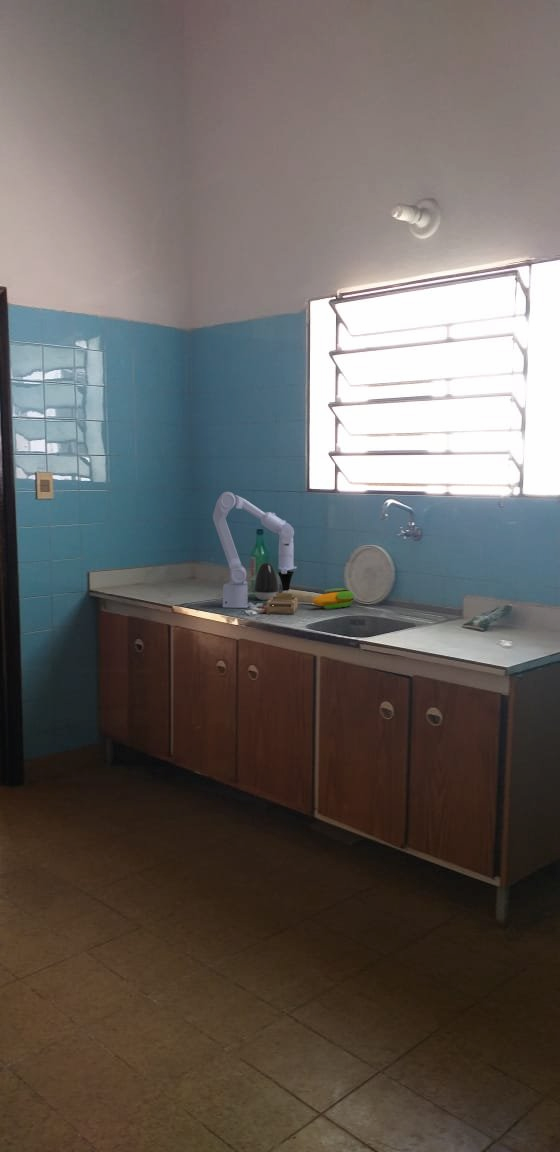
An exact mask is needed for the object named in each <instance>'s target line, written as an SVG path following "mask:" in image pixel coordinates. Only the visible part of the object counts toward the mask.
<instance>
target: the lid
mask: <svg viewBox="0 0 560 1152" xmlns="http://www.w3.org/2000/svg"><path fill="white" fill-rule="evenodd" d="M292 597H293V593H291V592H290V593H288V592H278V593H276V598H275V599H274V600H273V601H272V602H271V603H270V605H274V606H291V602H292V601H293V600H294V599H292Z"/></svg>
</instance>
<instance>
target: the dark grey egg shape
mask: <svg viewBox="0 0 560 1152" xmlns="http://www.w3.org/2000/svg"><path fill="white" fill-rule="evenodd" d="M279 590H280V587H279V580H278V576H277V573H276V570H275V568H274V566H273V564H272V563H270V562H267V561H266V562H263V563H261V564H260V566H259V567H258V569H257V572H256V574H255V580H254V584H253V592H254V595H255V597H256V598H257V599H258V600H260V601H268V600H269V599H270V598H271V597H276V593H279Z"/></svg>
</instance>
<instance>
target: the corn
mask: <svg viewBox="0 0 560 1152" xmlns="http://www.w3.org/2000/svg"><path fill="white" fill-rule="evenodd" d="M324 592H325V593H322V594H320V595H318V596H315V597H314V598H313V599H312V603H313V605H315V606H320V607H323V609H326V610H336V608H338V609H343V608H342V607H345V608H348V607H349V606H351V604H352V603H353V601H354V598H355V597H354V593H353V592H352V591H351V590H348V589H346V588H341V587H339V588H338V587H337V588H331V589H326V590H324ZM347 606H348V607H347Z"/></svg>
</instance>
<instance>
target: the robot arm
mask: <svg viewBox="0 0 560 1152" xmlns="http://www.w3.org/2000/svg"><path fill="white" fill-rule="evenodd" d="M234 506H235V509H239V510H243V511H246V512H248V513H250V514H251V515H252V516H254V517H256V518H257V519H259V520H260V523H261V526H264V527H265V529H266V528H267V529H268V530H269V531H271V532H273V533H275V534H278V536H279V539H278V540H279V542H278V566H277V569H278V570H280V571H278V572H277V573H278V576H279V578H280V582H281V586H282V590H283V592H285V591H286V592H288V591H290V589H291V582H292V577H293V576H294V571H292V570H295V569H297V566H295V563H294V556H295V553H294V550H295V549H294V545H295V544H294V536H295V529H294V528H293V526H292V525H291V524H290V523H288V522H287V521H286V520H285V519H281V518H280V517H278V516H277V515H276V513H275V512H271V511H267V512H265V511H262V510H261V509H260V508H259V507H257V506H255V505H254V504H252V502H249V501H248V500H247V499H245V498H243V497H241V496H239V495H237V494H236V495H235V494H234V493H233V492H231V491H225V492H222V493H221V495H220V496H219V498H218V499H217V501H216V503H215V507H214V510H213V513H212V520H213V523H214V526H215V528H216V529H215V530H216V532H217V535H218V536H219V538H218V539H219V540H220V543H221V546H222V549H223V552H224V554H225V557H226V558H225V559H226V560H227V563H228V567H229V570H230V574H229V578H230V580H229V582H228V583H224V584H223V586H222V587H223V588H222V608H227V609H228V608H233V609H234V608H235V609H237V608H238V609H247V608H249V607H250V605H251V604H250V603H249V601H248V600H249V599H248V598H249V597H248V596H249V595H248V594H249V593H248V592H249V590H248V589H249V584H248V583H249V582H248V581H247V576H248V575H247V574H248V573H247V569H246V568H245V567H244V566H243V565H242V562H241V560H240V556H239V554H238V552H237V551H238V550H237V548H236V546H235V543H234V540H233V536H232V534H231V530H230V529H229V525H228V522H227V519H226V518H227V516H228V514H229V512H230V511H231V510H232V509H233V508H234Z"/></svg>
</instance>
